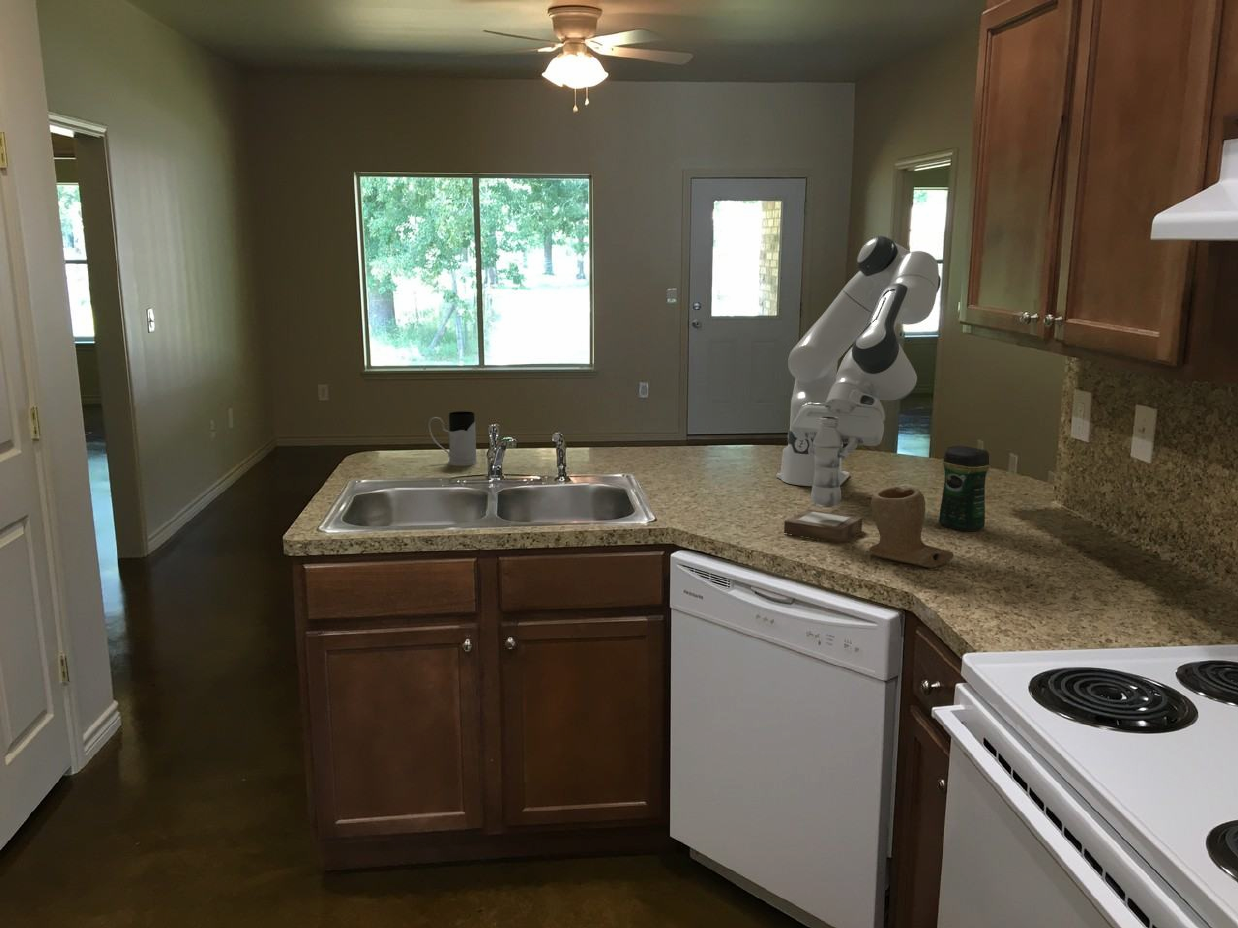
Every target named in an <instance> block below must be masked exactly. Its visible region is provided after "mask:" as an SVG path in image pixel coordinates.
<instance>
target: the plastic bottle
mask: <svg viewBox="0 0 1238 928" xmlns="http://www.w3.org/2000/svg"><path fill="white" fill-rule="evenodd" d="M820 426H821V429H820V430H819V431H818V433H817V434H816V435H815V437H814V440H813V445H814V455H815V475H814V483H813V484H814V485H813V486H811V493H810V497H811V502H812V503H813V505H814V506H817V507H821V508H825V509H826V508H827V509H828V508H835V507H838V506H839V504H840V503H841V499H842V492H841V485H840V480H839V469H840V467H839V466H840V456H839V453H840V451H841V448H844V443H843V440H842V437H841V435H840V433H839V432H838V430H837V428H836V427H837V426H838V418H837V417H829V416H826V417H821V423H820Z"/></svg>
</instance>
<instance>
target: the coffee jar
mask: <svg viewBox="0 0 1238 928" xmlns="http://www.w3.org/2000/svg"><path fill="white" fill-rule="evenodd" d="M942 461H943V462H942V464H943V468H944V483H943V490H942V499H941V504H940V510H939V515H938V516H939V517H938V522H939V524H940V525H942V526H944V527H947V528H950V529H955V530H958V531H973V532H976V531H979V530H981V529H983V528H984V527H985V526H986V525H985V524H986V523H985V522H986V521H985V520H986V502H985V501H986V499H985V498H986V497H985V495H986V494H985V493H986V491H985V489H986V477H987V474H988V472H989V468H990V454H989V452H988V451H987V449H981V448H977V447H971V446H966V445H951V446H948V447H946V449H945V452H944V456H943V460H942Z"/></svg>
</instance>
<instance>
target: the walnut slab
mask: <svg viewBox="0 0 1238 928" xmlns="http://www.w3.org/2000/svg"><path fill="white" fill-rule="evenodd" d="M783 524H784V525H783V534H784V533H787V534H792V535H797V536H796V537H798V536H803V537H802V538H804V537H809V538H814V539H813V540H815V539H819V540H818V541H821V540H825V541H824V542H827V541H828V543H833V542H834V544H841V543H843V542H845V541H847V540H848V539H850V538H853V536H855V535H857V534H858V533H860V532H862V530H863V517H861V516H855V515H847V514H841V513H834V512H828V511H821V510H815V509H814V510H813V509H809V508H808V509H806V510H804V511H802V512H799V513H798V514H796V515H794V516H792V517H790V518H788V519H785V520H784V523H783ZM856 533H857V534H856ZM792 535H791V536H792ZM809 538H808V539H809Z"/></svg>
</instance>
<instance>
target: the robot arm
mask: <svg viewBox="0 0 1238 928" xmlns="http://www.w3.org/2000/svg"><path fill="white" fill-rule="evenodd" d="M856 267H857V269H858V270H859V271H858V272H857V273H856V274H854V276H853V277H852V278H851V279H850V280H849V281H848V282H847V283H846V284H845V286H844V287H843V288H842V289H841V291H840V292H839V293H838V295H837V296H836V297H835V298H834V300H833V301H832V303H830V305H829V306H828V307H827V309H826V310H825V311H824V313H823V314H822V315H821V316H820V317H819V318H818V320H816V322H814V324H813V325H812V326H811V327H810V328H809V329H808V331H807V332H806V333H805V334H804V335H803V337H802V338H801V339H800V340H799V341H798V342H797V344H795V346H794V347H793V348H792V350H791V351H790V353H789V356H788V360H787V366H788V370H789V372H790V374H791V375H792V377H793V378H794V379H795V381H794V386H793V392H792V395H791V396H792V397H791V401H790V419H789V421H790V422H789V429H788V431H787V432H788V433H787V446H786V447H784V448H783V450H782V457H781V467H780V472H777V473H776V477H775V478H778V479H780V480H781V481H782V482H783V483H787V484H789V485H790V484H791V485H795V486H804V487H813V485H814V484H813V483H814V475H815V455H814V445H813V440H814V437H815V435H816V434H817V433H818V431H819V430H820V429H821V426H820V423H821V417H826V416H829V417H837V418H838V426H837V427H836V428H837V430H838V432H839V433H840V435H841V437H842V440H843V444H847V445H846V446H845V447H842V448H841V451H840V453H839V456H840V466H839V467H840V469H839V480H840V486H842V485H843V483H845V481H846V480H847V479H849V476H850V472H848V471H846V470H842V459H844V460H845V459H846V460H848V459H849V455H850V454H851V453H853V451H854V450H856V449H857V447H858V445H859V446H867V447H869V446H870V447H876V446H878V445H880V444H881V442H882V439H883V436H884V432H885V425H884V422H885V419H886V414H885V413H886V412H885V410H884V406H883V405H882V404H883V403H882V402H897V401H901V400H903V399H905V398H906V397H908V396H909V395H910V394H911V393H912V392H913V391H914V389H916V386H917V382H918V375H917V373H916V371H915V369H914V366H913V365H912V363H911V361H910V360H909V358H908V357H907V355H906V353H905V352H904V349H903V347H902V346H901V344H900V342H899V339H898V337H897V334H896V327H897V325H898V324H901V325H915V324H919V323H922V322H923V321H924V320H926V319H927V318H928V317H929V316H930V315H931V313H932V311H933V309H934V307H935V304H936V298H937V294H938V292H939V291H940V288H941V281H942V279H941V278H942V277H941V276H940V274H939V272H940V271H939V264H938V261H937V259H936V258H935V257H934V256H933V255H932V254H931V253H928V252H926V251H922V250H915V251H910V250H908V249H907V248H905V247H903V246H902V245H900V244H898V243H896V242H895V241H894V240H893V239H891V238H889V237H887V236H885V235H884V236H883V235H876V236H874V237H872V238H870V239H869V240H867V241H866V243H865V244H863V246H862V247H861V249H860V251H859V253H858V254H857V257H856ZM851 346H852V347H851ZM850 347H851V348H850ZM849 348H850V349H849ZM845 352H847V353H846V354H845ZM844 354H845V355H844ZM843 355H844V357H843V359H842V360H841V363H840V365H839V368H838V361H839V360H840V359H841V357H842V356H843ZM881 401H882V402H881Z"/></svg>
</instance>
